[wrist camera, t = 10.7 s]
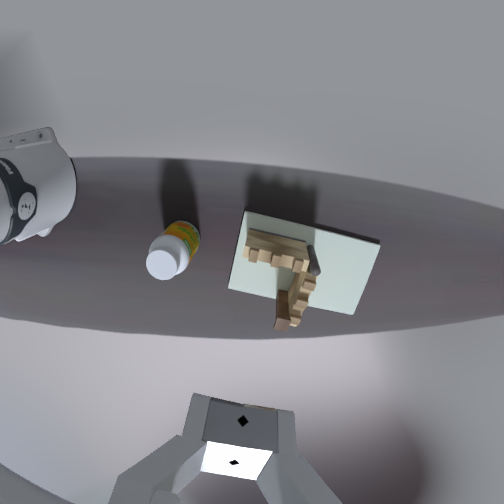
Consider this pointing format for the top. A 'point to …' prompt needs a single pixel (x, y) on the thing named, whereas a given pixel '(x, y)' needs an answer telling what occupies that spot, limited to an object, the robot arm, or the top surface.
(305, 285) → the notched wooden plank
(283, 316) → the corner post
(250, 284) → the card
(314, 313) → the top surface
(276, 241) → the fence fixed
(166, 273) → the supplement bottle
